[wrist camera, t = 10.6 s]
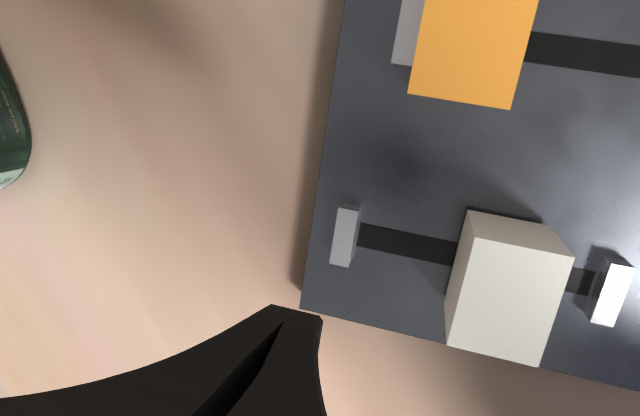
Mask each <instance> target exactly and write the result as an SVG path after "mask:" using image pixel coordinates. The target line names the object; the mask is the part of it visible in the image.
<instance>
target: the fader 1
mask: <svg viewBox="0 0 640 416" xmlns="http://www.w3.org/2000/svg"><path fill="white" fill-rule="evenodd" d="M538 2H539V0H425V4H424V9H423V14H422V19H421V25H420V30H419V35H418V40H417V45H416V50H415V55H414V60H413V65H412V70H411V76H410V81H409V86H408V91H407V94H413V95H420V96H426V97H432V98H438V99H444V100H451V101H457V102H463V103H469V104H475V105H482V106H488V107H494V108H500V109H506V110H510V108H511V105H512V101H513V97H514V93H515V89H516V86H517V82H518V78H519V74H520V70H521V67H522V63H523V59H524V55H525V51H526V48H527V44H528V40H529V36H530V32H531V29H532V25H533V21H534V17H535V14H536V10H537V6H538Z"/></svg>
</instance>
